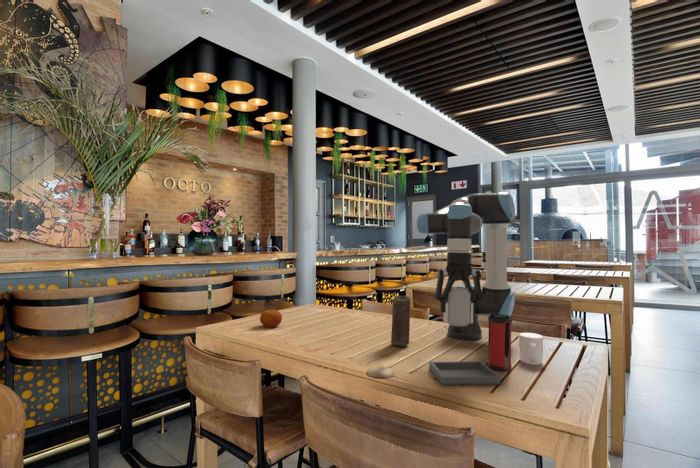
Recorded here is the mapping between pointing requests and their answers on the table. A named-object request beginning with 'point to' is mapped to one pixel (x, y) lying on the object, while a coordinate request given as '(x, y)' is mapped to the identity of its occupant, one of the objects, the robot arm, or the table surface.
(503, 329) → the speaker
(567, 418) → the table surface
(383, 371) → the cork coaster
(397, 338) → the dark brown bottle
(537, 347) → the mug
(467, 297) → the can
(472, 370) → the tray
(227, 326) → the table surface
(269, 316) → the fruit
